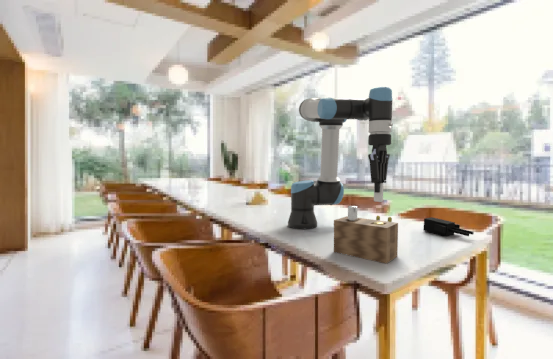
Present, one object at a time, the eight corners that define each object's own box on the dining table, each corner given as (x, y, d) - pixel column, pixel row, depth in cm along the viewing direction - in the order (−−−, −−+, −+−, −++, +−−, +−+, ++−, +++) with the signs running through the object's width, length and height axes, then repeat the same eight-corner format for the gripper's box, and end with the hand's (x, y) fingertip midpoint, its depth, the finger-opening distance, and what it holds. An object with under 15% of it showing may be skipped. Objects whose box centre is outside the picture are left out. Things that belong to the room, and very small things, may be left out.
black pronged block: (478, 240, 133) (434, 229, 150) (479, 226, 132) (435, 216, 150) (463, 243, 128) (420, 231, 145) (464, 229, 127) (420, 219, 144)
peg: (346, 233, 115) (346, 206, 115) (350, 231, 118) (350, 205, 117) (354, 234, 113) (354, 207, 112) (358, 232, 116) (358, 206, 115)
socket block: (333, 251, 116) (333, 220, 115) (346, 246, 123) (346, 216, 122) (386, 263, 102) (387, 227, 102) (397, 256, 110) (398, 222, 109)
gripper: (383, 132, 99) (381, 205, 101) (397, 134, 109) (395, 200, 111) (361, 133, 104) (360, 202, 106) (377, 135, 114) (375, 198, 116)
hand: (378, 201), depth 108 cm, fingers closed
